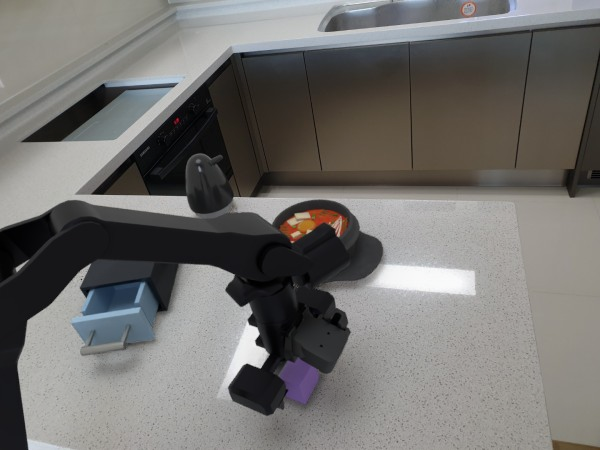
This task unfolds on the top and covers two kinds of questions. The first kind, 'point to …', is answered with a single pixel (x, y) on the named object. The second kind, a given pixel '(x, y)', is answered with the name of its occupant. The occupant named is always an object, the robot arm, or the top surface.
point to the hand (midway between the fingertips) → (296, 380)
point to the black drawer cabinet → (132, 277)
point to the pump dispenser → (207, 187)
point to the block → (299, 380)
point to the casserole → (347, 228)
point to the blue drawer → (116, 317)
